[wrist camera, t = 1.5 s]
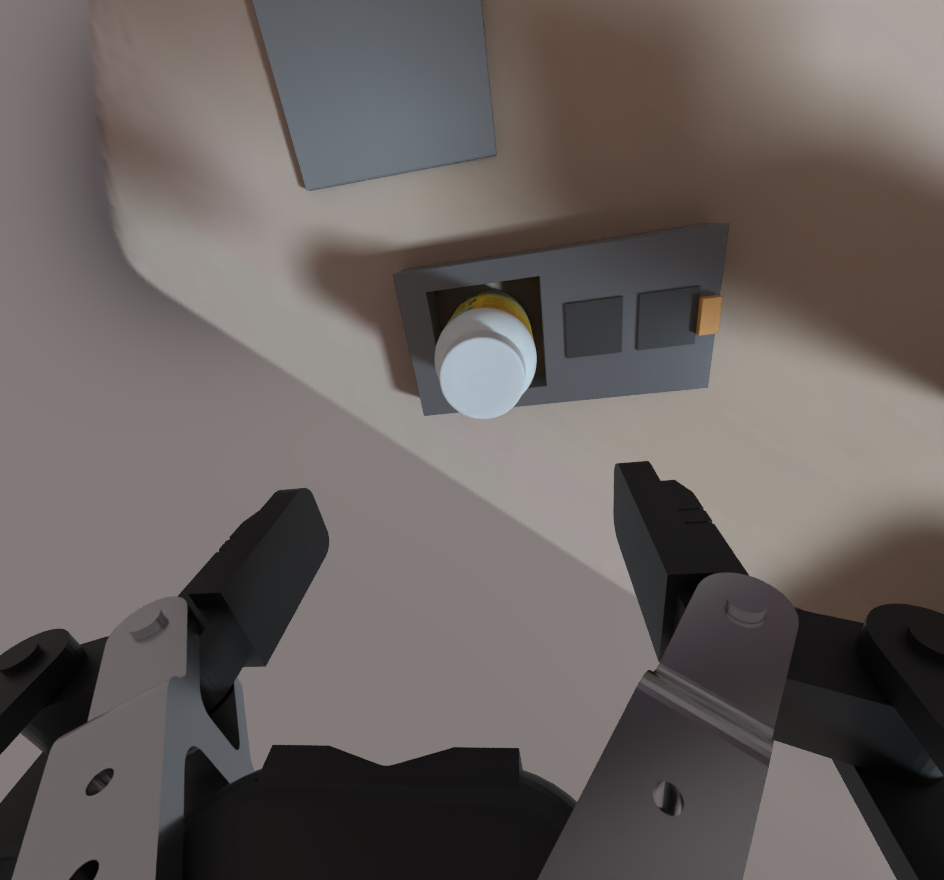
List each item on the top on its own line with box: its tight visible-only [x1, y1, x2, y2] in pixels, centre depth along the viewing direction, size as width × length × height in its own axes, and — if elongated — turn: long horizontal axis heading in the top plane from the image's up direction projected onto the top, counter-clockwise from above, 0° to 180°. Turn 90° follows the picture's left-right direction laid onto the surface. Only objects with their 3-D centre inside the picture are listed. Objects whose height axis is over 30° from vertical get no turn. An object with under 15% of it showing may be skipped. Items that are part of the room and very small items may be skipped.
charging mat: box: [252, 0, 496, 191], centre depth 21 cm, size 11×11×1 cm
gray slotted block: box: [393, 223, 729, 416], centre depth 25 cm, size 18×9×3 cm, turn 99°
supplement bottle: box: [435, 291, 537, 419], centre depth 23 cm, size 5×5×10 cm
